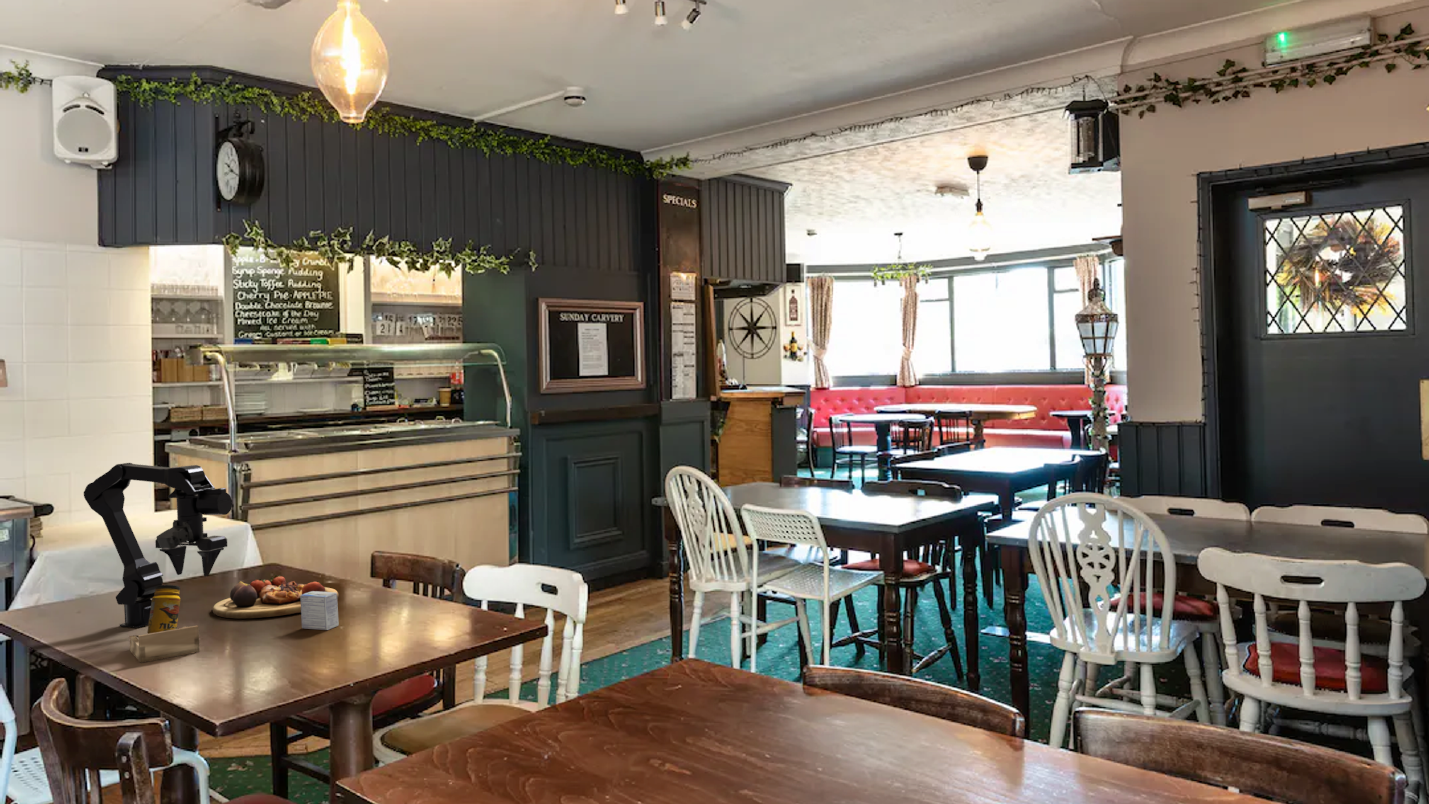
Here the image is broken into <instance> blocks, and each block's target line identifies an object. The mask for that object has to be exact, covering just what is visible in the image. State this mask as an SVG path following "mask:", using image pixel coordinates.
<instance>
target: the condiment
mask: <svg viewBox="0 0 1429 804" xmlns="http://www.w3.org/2000/svg"><path fill="white" fill-rule="evenodd" d="M180 591H181V586H179V585H173V584H162V585H159V586H156V588H155V592H154V597H153V598H152V599H151V600H152V603H151V610H150V618H149V625H147V633H146V634H150V633H156V632H162V631H168V630H173V629H178V622H179V614H180V606H181V605H180V604H181V599H182V598H181V597H180V595H181V594H180ZM134 635H135V637H136V638H138V635H137V634H134Z"/></svg>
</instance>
